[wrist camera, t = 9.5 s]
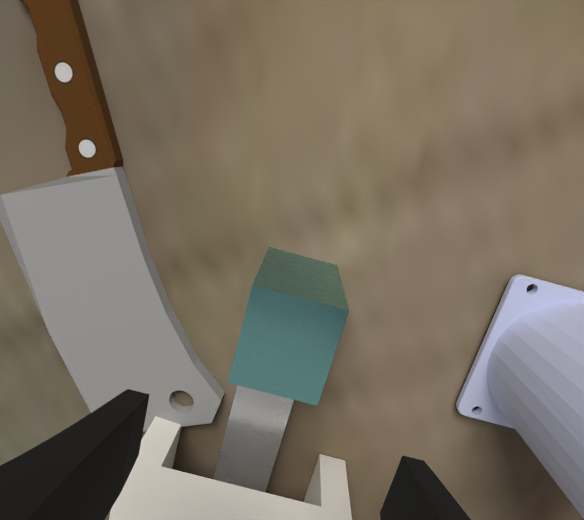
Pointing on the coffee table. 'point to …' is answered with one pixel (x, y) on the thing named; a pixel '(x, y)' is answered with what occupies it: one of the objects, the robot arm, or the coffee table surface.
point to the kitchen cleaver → (98, 248)
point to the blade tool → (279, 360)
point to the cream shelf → (219, 489)
